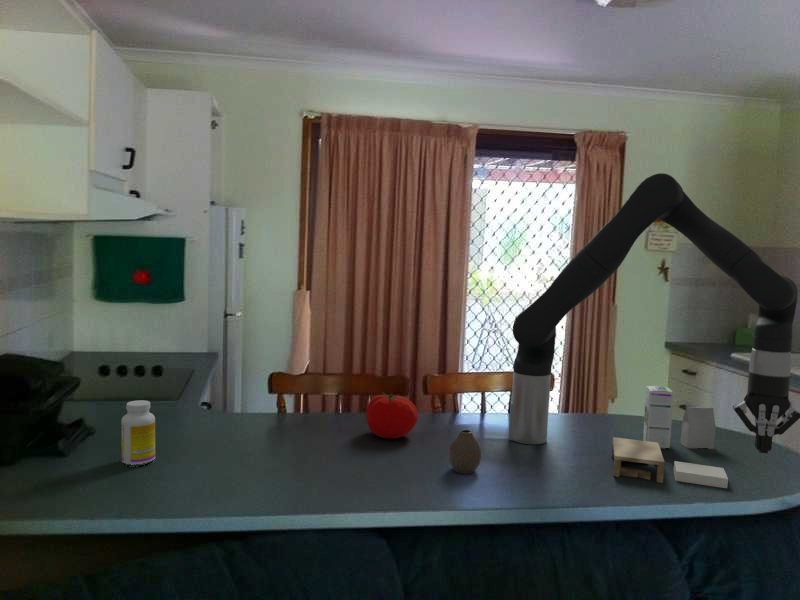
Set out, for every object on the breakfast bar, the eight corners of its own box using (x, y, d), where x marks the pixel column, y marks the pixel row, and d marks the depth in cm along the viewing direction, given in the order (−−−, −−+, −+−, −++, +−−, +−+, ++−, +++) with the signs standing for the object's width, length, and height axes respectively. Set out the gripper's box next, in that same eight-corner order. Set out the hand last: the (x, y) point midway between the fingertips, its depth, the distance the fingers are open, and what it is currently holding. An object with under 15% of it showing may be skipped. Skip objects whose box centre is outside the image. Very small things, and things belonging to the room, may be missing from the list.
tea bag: (713, 449, 161) (717, 410, 160) (686, 448, 161) (690, 409, 160) (706, 444, 165) (709, 406, 164) (680, 443, 165) (683, 405, 164)
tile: (675, 482, 138) (676, 471, 138) (673, 471, 145) (674, 461, 145) (727, 490, 135) (728, 478, 135) (722, 479, 142) (723, 468, 142)
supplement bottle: (162, 460, 139) (162, 401, 137) (137, 469, 133) (137, 408, 131) (139, 454, 141) (139, 397, 140) (114, 463, 135) (114, 404, 134)
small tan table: (613, 476, 139) (614, 455, 139) (611, 456, 153) (612, 437, 152) (662, 483, 137) (664, 462, 136) (656, 461, 150) (658, 442, 150)
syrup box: (670, 449, 160) (675, 391, 158) (645, 446, 161) (649, 389, 159) (665, 442, 165) (670, 386, 164) (641, 440, 166) (645, 384, 165)
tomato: (354, 434, 162) (355, 393, 161) (387, 425, 171) (388, 385, 170) (394, 447, 153) (396, 403, 152) (426, 436, 162) (428, 395, 161)
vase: (459, 478, 135) (461, 437, 134) (442, 467, 141) (444, 428, 140) (486, 473, 138) (488, 434, 137) (468, 463, 144) (470, 425, 143)
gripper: (738, 371, 133) (731, 453, 134) (811, 377, 129) (803, 461, 131) (730, 365, 140) (724, 443, 142) (799, 370, 136) (792, 450, 138)
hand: (762, 451), depth 136 cm, fingers closed
